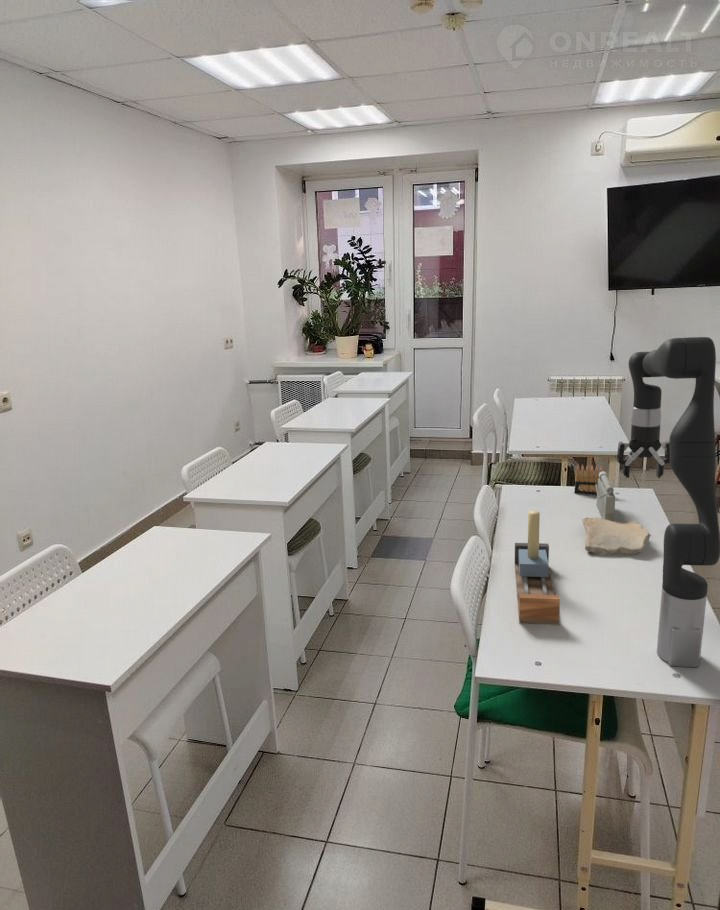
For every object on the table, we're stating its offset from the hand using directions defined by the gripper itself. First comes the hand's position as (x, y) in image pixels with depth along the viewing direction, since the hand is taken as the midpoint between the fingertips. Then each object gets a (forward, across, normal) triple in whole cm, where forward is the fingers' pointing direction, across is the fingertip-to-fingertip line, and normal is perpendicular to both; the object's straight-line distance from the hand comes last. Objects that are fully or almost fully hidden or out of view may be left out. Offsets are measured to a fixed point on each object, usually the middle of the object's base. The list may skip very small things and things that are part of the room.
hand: (642, 477), depth 186 cm
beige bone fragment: (+30, -3, +20) cm, 36 cm away
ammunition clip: (+29, -4, +65) cm, 72 cm away
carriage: (+26, -31, -7) cm, 41 cm away
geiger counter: (+29, -2, +45) cm, 54 cm away
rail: (+29, -31, -16) cm, 46 cm away
